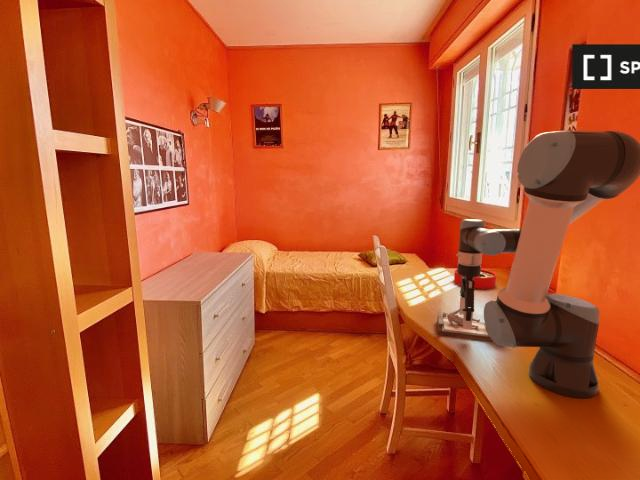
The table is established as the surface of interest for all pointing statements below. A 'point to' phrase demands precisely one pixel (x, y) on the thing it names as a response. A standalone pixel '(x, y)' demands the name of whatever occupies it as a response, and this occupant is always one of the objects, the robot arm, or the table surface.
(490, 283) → the toy clock
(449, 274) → the table surface
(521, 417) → the table surface
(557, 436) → the table surface
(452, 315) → the soldier figure
